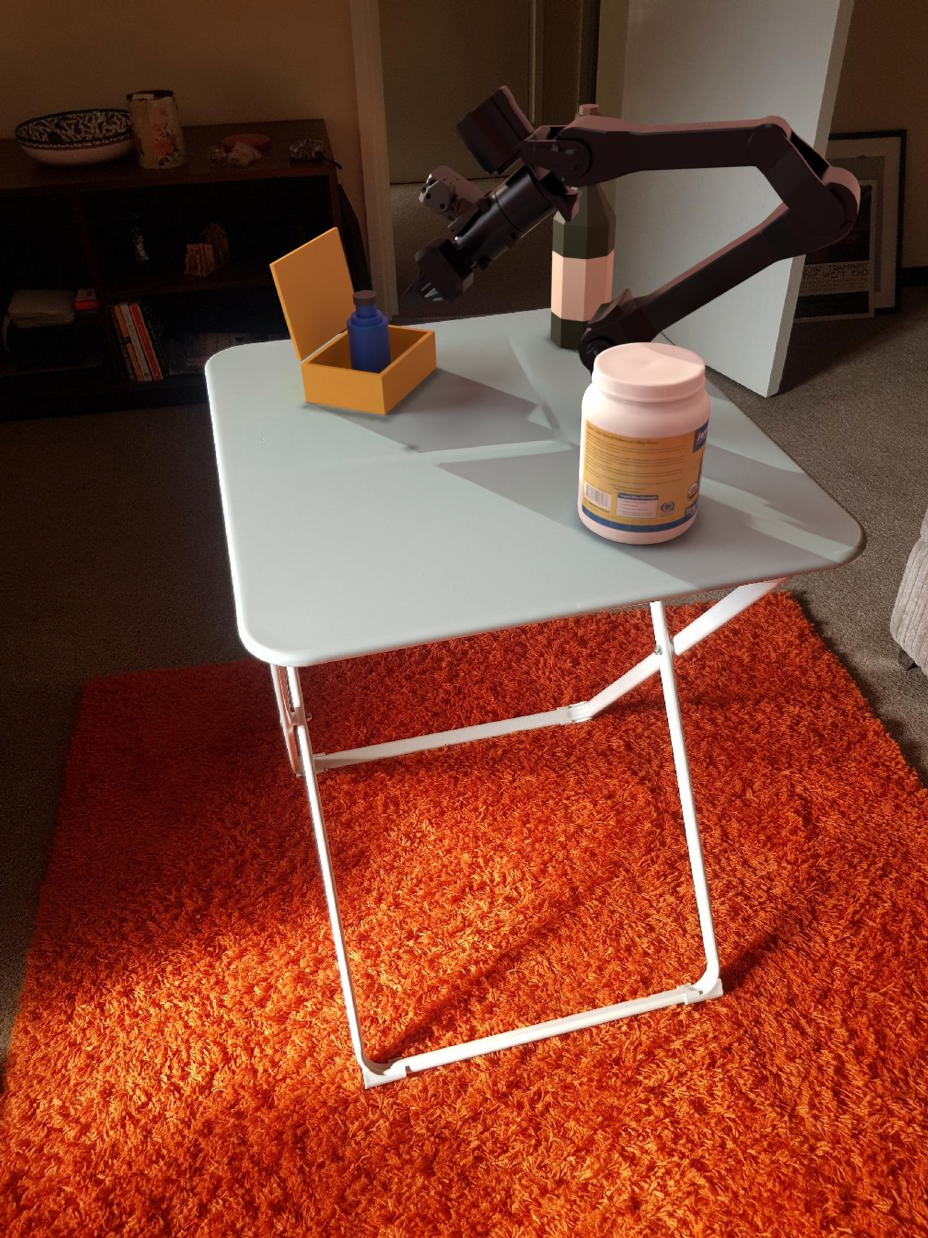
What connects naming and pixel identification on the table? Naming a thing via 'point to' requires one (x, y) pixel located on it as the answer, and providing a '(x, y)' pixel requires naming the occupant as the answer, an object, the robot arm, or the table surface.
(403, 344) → the box
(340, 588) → the table surface
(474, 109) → the robot arm
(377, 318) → the bottle
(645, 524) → the supplement tub
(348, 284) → the lunchbox lid
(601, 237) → the wine bottle
